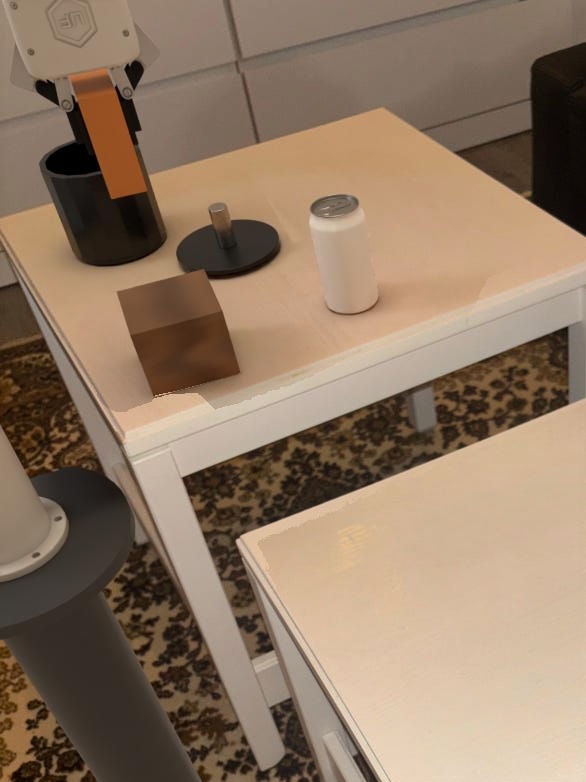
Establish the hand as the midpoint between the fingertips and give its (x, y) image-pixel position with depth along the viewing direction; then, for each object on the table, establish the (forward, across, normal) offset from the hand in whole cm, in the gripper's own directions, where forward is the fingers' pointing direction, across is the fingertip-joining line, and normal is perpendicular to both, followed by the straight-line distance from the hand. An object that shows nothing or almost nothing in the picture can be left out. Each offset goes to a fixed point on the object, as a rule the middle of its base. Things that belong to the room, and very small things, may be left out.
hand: (111, 142), depth 95 cm
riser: (+25, 0, 0) cm, 25 cm away
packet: (+4, 0, 0) cm, 4 cm away
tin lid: (+24, +11, +24) cm, 36 cm away
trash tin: (+25, -2, +35) cm, 43 cm away
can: (+25, +22, +4) cm, 33 cm away
